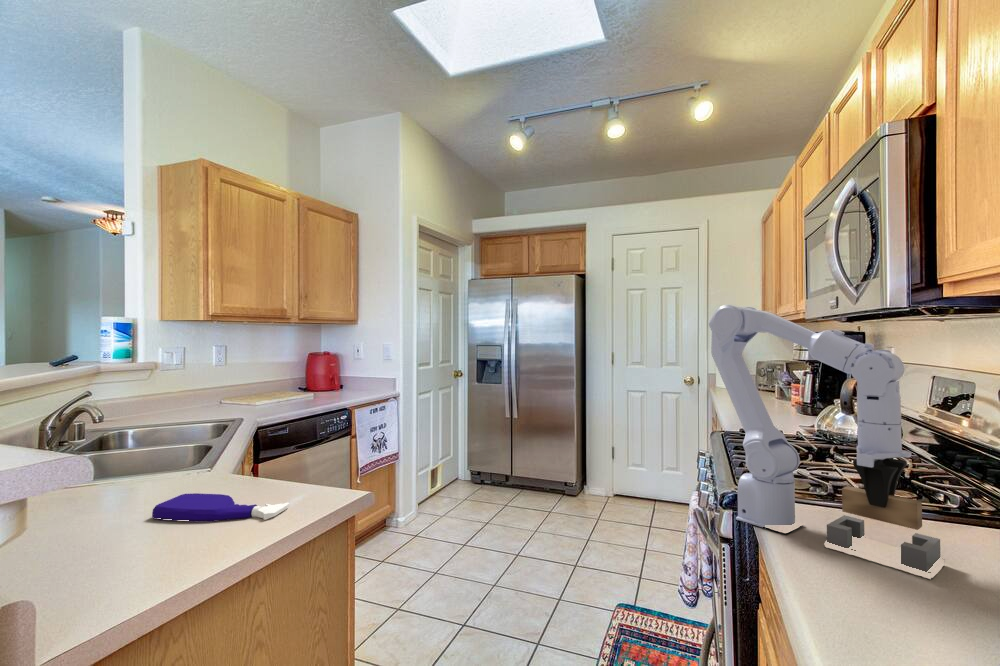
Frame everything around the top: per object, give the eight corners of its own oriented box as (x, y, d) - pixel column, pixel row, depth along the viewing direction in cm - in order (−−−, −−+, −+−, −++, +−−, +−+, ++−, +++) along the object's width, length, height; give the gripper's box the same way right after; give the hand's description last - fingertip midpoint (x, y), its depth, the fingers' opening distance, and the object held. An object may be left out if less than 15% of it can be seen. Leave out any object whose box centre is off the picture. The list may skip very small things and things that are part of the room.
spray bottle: (146, 508, 92) (264, 513, 91) (187, 491, 103) (293, 495, 102) (146, 523, 92) (264, 529, 91) (186, 504, 103) (293, 509, 101)
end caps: (826, 542, 80) (826, 524, 81) (844, 531, 85) (844, 515, 85) (926, 572, 70) (926, 551, 70) (940, 558, 75) (940, 539, 75)
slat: (842, 511, 81) (841, 488, 81) (847, 508, 82) (847, 485, 83) (917, 530, 73) (917, 504, 73) (922, 526, 74) (921, 501, 74)
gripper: (895, 430, 71) (897, 520, 70) (922, 421, 79) (924, 502, 79) (840, 423, 76) (842, 507, 76) (871, 416, 85) (873, 491, 84)
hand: (880, 504), depth 78 cm, fingers closed on slat, 2 cm apart
